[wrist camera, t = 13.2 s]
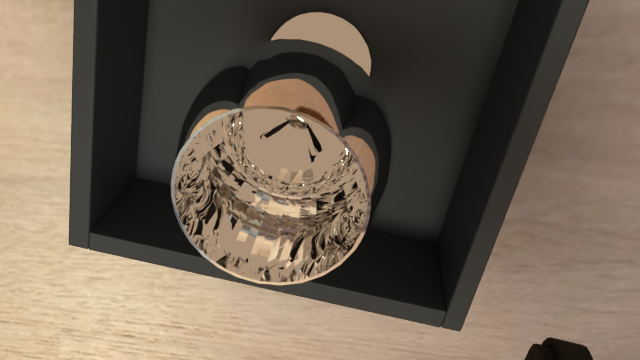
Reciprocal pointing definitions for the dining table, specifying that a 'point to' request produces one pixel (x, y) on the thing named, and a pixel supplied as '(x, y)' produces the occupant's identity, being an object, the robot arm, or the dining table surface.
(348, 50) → the wineglass
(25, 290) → the dining table surface
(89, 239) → the dish tub
